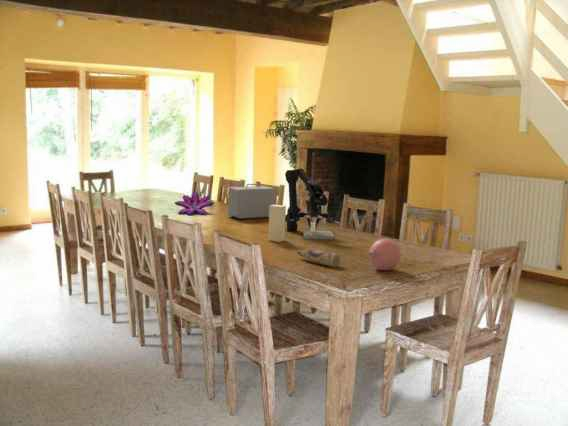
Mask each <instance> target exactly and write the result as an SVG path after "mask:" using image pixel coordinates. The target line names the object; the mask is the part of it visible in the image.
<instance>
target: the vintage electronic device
mask: <svg viewBox="0 0 568 426" xmlns="http://www.w3.org/2000/svg"><path fill="white" fill-rule="evenodd" d="M227 192H228V193H227V194H228V195H227V215H228V216H230V217H231V218H237V219H238V220H239V221H242V220H243V219H253V218H269V207H270V205H278V204H277V201H278V200H277V199H278V189H277V188H274V187H269V186H266V185H261V186H260V184H259V183H247V184H246V186H229V187H228V189H227Z"/></svg>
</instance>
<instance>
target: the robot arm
mask: <svg viewBox="0 0 568 426" xmlns="http://www.w3.org/2000/svg"><path fill="white" fill-rule="evenodd" d="M284 175H285V181H286V182H287V183H288V198H289V200H288V203H289V206H288V208H287V210H286V211H287V213H286V214H285V222H286V228H285V229H286V230H285V231H286V232H297V230H298V223H297V222H300V218H305V220H306V221H307V223H308V227H309V228H310V227H311V225H310V223H311V218H316V219H315V224H316V228H317V226H318V225H319V222H320V220H322V218H323V219H329V218H330V215H329V214H330V213H328V212H327V211H326V212H324V211H323V212H322V209H320V208H319V206H322V207H324V206H325V207H326V206H327V205H328V197H326V194H324V190H323V189H322V187H321V184H320V183H319V182H317V181H315V180H313V179H312V178H311V177H310V175H308V174H307V173H306V171H305V170H304V168H296V169H288V170H286V172H285V174H284ZM299 179H300V180H301V181H302V182H303V183H304V185H305V186H306V190H307V191H308V194H307V196H308V197H309V204H308V212H305V211H302V210H301V208H300V207H299V206H298V194H297V184H298V183H297V182H298V181H299Z"/></svg>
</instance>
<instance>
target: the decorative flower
mask: <svg viewBox="0 0 568 426" xmlns="http://www.w3.org/2000/svg"><path fill="white" fill-rule="evenodd" d="M199 194H200V193H199V192H198V191H194V192H193V193H192V194H191V195H190V196H189V195H183V196H182V199H183V200H177V201H174V205H176V206H179V207H182V209H180V210H179V211H178V215H186V214H187V215H188V216H191V215H194V214H199V215H201V216H206V215H207V213H208V212H207V211H206V209H204V208H207V207H212V206H213V205H214V204H215V202H214V201H209V200H210V195H205V196H203V197H200V195H199Z"/></svg>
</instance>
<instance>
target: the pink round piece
mask: <svg viewBox="0 0 568 426" xmlns="http://www.w3.org/2000/svg"><path fill="white" fill-rule="evenodd" d="M366 255H367V256H368V258H369V261H370V263H371V264H372V266H373V267H374V268H376V269H378V270H380V271H391V270H393V269H395V268H396V267H397V266H398V264H399V263H400V262H401V258H402V253H401V248H400V246H399V245H398V244H397V242H395V241H394V240H392V239H389V238H381V239H378V240H376V241H375V242H373V243H372V245H371V246H370V248H369V251H368V252H367V253H366Z"/></svg>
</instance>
